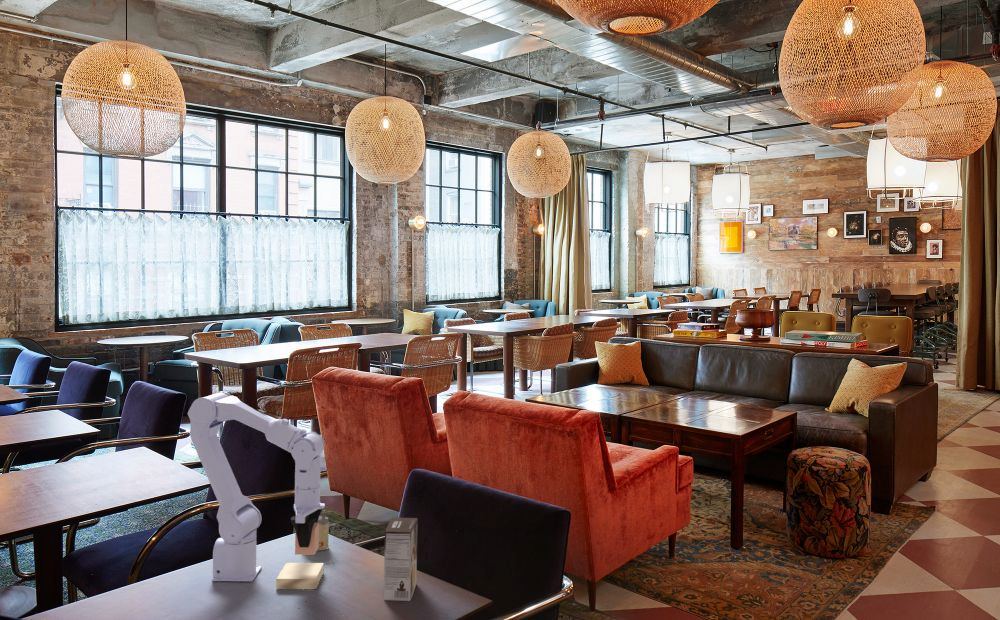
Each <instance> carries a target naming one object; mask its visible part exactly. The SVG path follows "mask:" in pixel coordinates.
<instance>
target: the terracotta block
mask: <svg viewBox="0 0 1000 620" xmlns="http://www.w3.org/2000/svg"><path fill="white" fill-rule="evenodd" d="M294 532H295V533H294V534H295V537H294V539H295V541H294V545H295V546H294V547H295V548H294V555H303V556H304V555H305V556H306V555H308V556H309V555H310V556H314V555H316V553H317V551H318V550H317V549H318V548H319V523H314V526H313V529H312V534H311V540H310V544H309V547H299V543H298V539H297V534H296V531H295V530H294Z"/></svg>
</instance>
